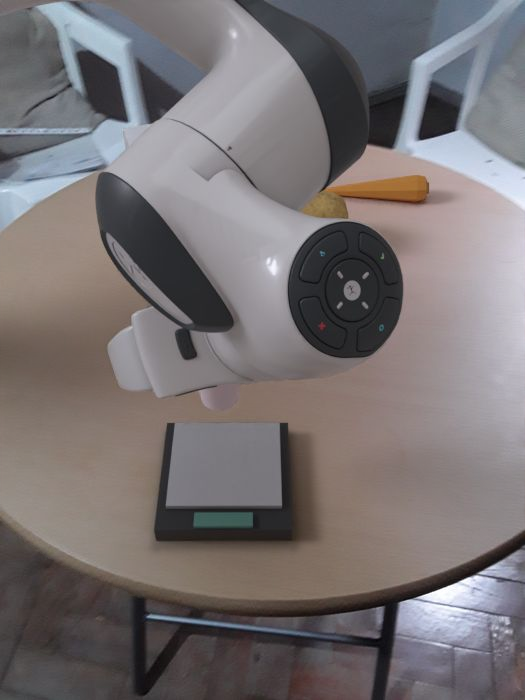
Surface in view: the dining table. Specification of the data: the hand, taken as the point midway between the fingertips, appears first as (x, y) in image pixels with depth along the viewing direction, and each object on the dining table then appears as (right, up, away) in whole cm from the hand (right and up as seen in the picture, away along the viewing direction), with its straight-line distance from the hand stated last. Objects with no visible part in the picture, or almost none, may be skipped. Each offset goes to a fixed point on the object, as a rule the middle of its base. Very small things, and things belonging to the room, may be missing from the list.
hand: (213, 335), depth 62 cm
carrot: (+23, +25, +55) cm, 64 cm away
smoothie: (0, -6, +5) cm, 8 cm away
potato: (+10, +15, +44) cm, 48 cm away
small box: (-13, +23, +53) cm, 59 cm away
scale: (0, -16, +13) cm, 20 cm away
